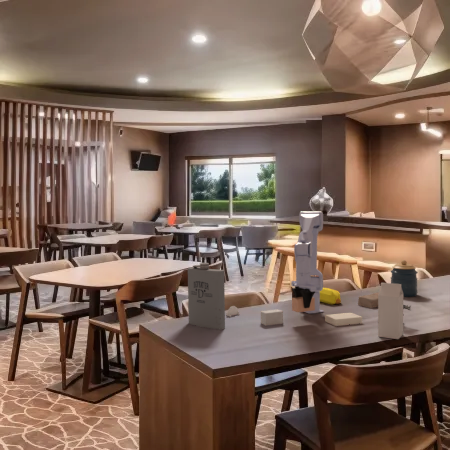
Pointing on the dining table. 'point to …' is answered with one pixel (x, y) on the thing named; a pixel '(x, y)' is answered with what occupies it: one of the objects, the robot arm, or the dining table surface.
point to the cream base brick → (343, 319)
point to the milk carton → (390, 311)
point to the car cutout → (232, 311)
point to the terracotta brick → (302, 305)
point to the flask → (206, 297)
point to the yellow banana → (330, 296)
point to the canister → (405, 278)
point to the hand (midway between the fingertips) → (303, 306)
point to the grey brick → (271, 317)
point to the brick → (369, 300)
